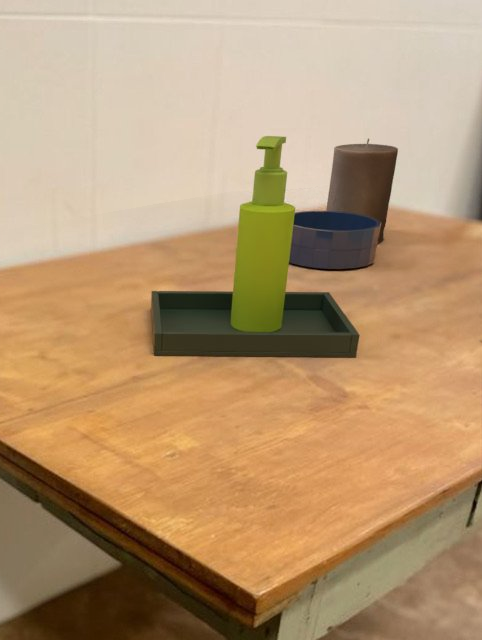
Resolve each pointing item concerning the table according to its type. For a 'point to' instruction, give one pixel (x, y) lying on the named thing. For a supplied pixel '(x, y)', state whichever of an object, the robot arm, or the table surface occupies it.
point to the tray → (223, 340)
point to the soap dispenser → (263, 247)
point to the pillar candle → (362, 180)
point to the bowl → (333, 239)
